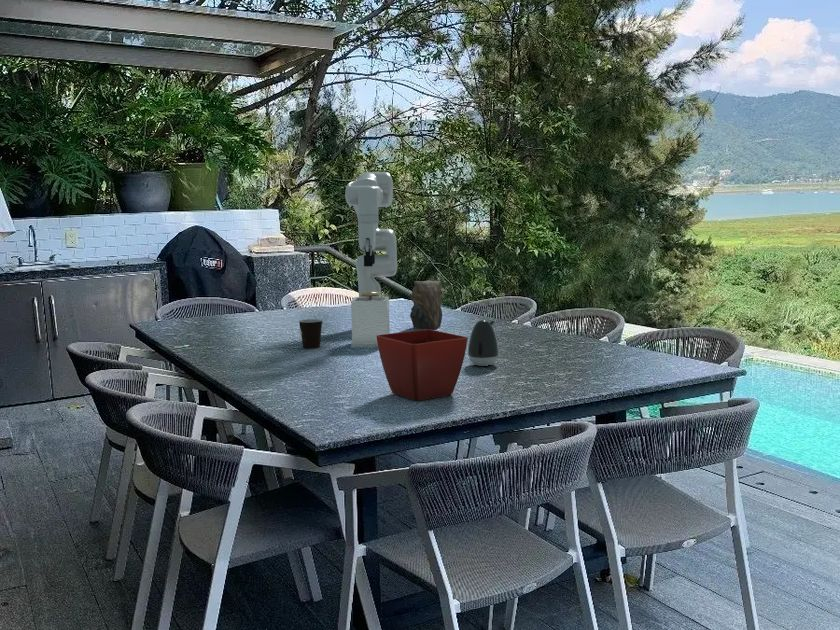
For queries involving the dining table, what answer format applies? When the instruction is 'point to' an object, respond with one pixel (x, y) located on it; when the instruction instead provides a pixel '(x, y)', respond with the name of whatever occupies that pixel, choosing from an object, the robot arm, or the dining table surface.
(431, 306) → the owl
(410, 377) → the plant pot
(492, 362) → the dark grey tapered dome
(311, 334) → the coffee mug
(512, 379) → the dining table surface
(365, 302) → the white open square box
